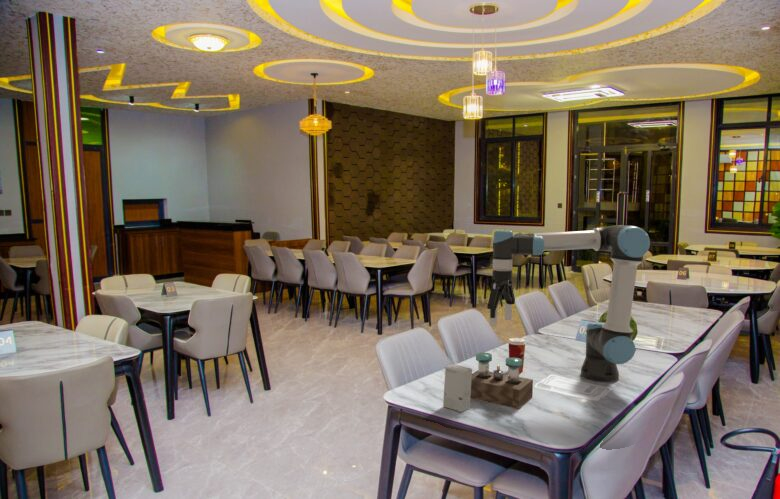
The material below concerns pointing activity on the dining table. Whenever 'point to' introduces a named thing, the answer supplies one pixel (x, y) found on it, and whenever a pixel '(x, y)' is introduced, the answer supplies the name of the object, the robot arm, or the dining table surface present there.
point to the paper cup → (517, 350)
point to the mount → (501, 390)
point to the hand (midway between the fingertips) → (500, 323)
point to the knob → (483, 364)
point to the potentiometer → (498, 374)
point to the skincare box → (457, 387)
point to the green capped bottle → (513, 370)
